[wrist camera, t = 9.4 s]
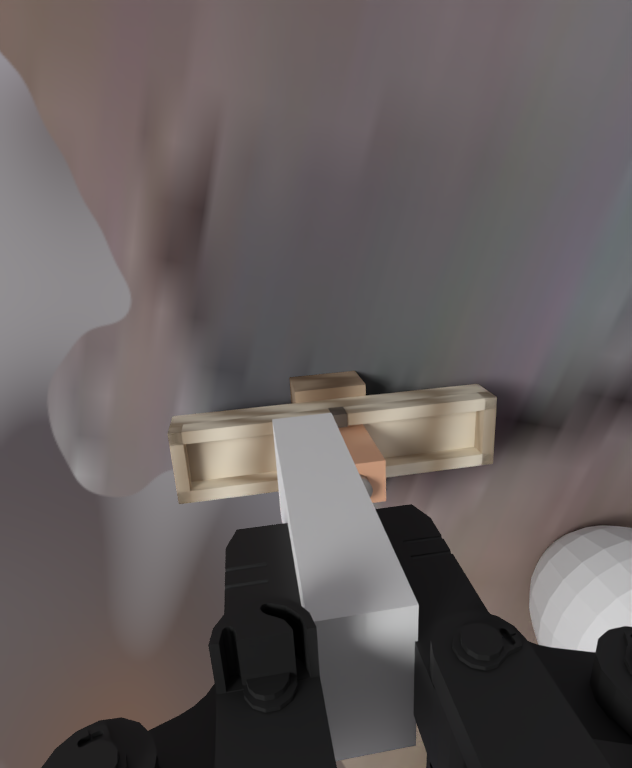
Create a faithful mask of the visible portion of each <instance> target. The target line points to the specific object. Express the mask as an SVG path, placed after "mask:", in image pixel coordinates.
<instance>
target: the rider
mask: <svg viewBox="0 0 632 768" xmlns="http://www.w3.org/2000/svg"><path fill="white" fill-rule="evenodd" d="M339 431H340V433H341V435H342V437H343V439H344V442H345V444H346V446H347V448H348V450H349V453H350V455H351V457H352V459H353V461H354V464H355V466H356V468H357V470H358V472H359V475H360V477H361V479H362V481H363V483H364V486H365V488H366V490H367V492H368V494H369V497H370V499H371V501H372V503H374V502H382V501H386V460H385V459H384V457H383V455H382V454H381V452H380V451H379V449H378V448H377V446H376V444H375V443H374V441H373V440H372V438H371V436H370V435H369V433H368V432H367V430H366V429H365V427H364V425H363V424H358V425H349V426H348V427H342V428H339Z"/></svg>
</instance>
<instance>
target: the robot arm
mask: <svg viewBox="0 0 632 768" xmlns="http://www.w3.org/2000/svg"><path fill="white" fill-rule="evenodd" d="M272 423H273V434H274V445H275V456H276V467H277V478H278V489H279V500H280V511H281V517H282V524H276V525H269V526H262V527H254V528H246V529H239V530H236V532H235V534H234V536H233V537H232V539H231V540H230V542H229V544H228V546H227V547H226V563H225V569H226V572H225V610H224V615H223V617H222V618H221V619H220V620H219V622H218V623H217V624H216V625H215V627H214V628H213V631H212V635H211V638H210V642H209V651H210V657H211V663H212V669H213V675H214V681H215V684H214V685H213V687H212V688H211V689H210V691H209V692H208V693H207V695H206V696H205V697H204V698H202V699H201V700H200V701H199V702H198V703H197V704H196V705H195V706H194V707H192V708H190V709H189V710H187V711H186V712H184V713H182V714H181V715H179V716H177V717H175V718H173V719H171V720H169V721H167V722H165V723H163V724H161V725H159V726H157V727H155V728H153V729H151V730H149V731H147V730H146V729H145V728H144V727H143V726H142V725H141V724H140V723H139V722H136V721H132V720H128V719H125V718H115V719H108V720H101V721H98V722H96V723H94V724H91V725H89V726H87V727H85V728H83V729H81V730H79V731H77V732H75V733H74V734H73V735H72V736H70V737H69V738H68V739H67V740H66V741H64V742H63V743H62V744H61V745H60V746H59V747H57V748H56V749H55V750H54V752H53V753H52V754H51V756H50V757H49V758H48V760H47V761H46V762H45V764H44V765H43V766H42V768H337V767H336V761H339V760H344V759H349V758H354V757H359V756H364V755H369V754H375V753H380V752H385V751H390V750H395V749H400V748H405V747H410V746H416V723H417V726H418V729H419V732H420V734H421V737H422V740H423V743H424V746H425V749H426V752H427V766H426V768H632V627H629V626H623V627H619V628H614V629H609V630H608V631H606V632H605V633H604V634H603V635H602V636H601V637H600V638H598V642H597V647H596V652H587V651H578V650H570V649H561V648H552V647H547V646H542V645H537V644H534V643H531V642H529V641H527V640H526V638H525V637H524V636H523V635H522V634H521V633H520V632H519V631H518V630H517V629H516V628H515V627H514V626H513V625H511V624H510V623H508V622H506V621H505V620H503V619H501V618H500V617H498V616H495V615H491V614H490V613H489V612H488V611H487V609H486V607H485V606H484V604H483V602H482V601H481V599H480V598H479V596H478V594H477V593H476V591H475V589H474V588H473V586H472V585H471V583H470V581H469V580H468V578H467V576H466V575H465V573H464V572H463V570H462V568H461V567H460V565H459V563H458V562H457V560H456V559H455V557H454V555H453V554H451V552H450V549H449V547H448V546H447V544H446V542H445V541H444V539H442V537H441V534H440V532H439V531H438V529H437V528H436V526H435V524H434V523H433V521H432V519H431V518H430V517H429V516H427V515H426V514H424V513H423V512H422V511H420V510H419V509H417V508H416V507H415V506H413V505H412V504H410V505H403V506H396V507H388V508H381V509H375V508H374V505H373V503H372V501H371V499H370V497H369V494H368V492H367V490H366V488H365V486H364V483H363V481H362V479H361V477H360V475H359V472H358V470H357V468H356V466H355V464H354V461H353V459H352V457H351V455H350V453H349V450H348V448H347V446H346V444H345V442H344V439H343V437H342V435H341V433H340V431H339V428H338V426H337V424H336V422H335V420H334V417H333V415H332V413H324V414H315V415H306V416H297V417H288V418H279V419H272Z"/></svg>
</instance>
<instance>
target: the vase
mask: <svg viewBox="0 0 632 768" xmlns="http://www.w3.org/2000/svg"><path fill="white" fill-rule="evenodd" d="M529 610H530V615H531V621H532V625H533V628H534V632H535V635H536V638H537V642H538V645H542V646H547V647H552V648H561V649H570V650H578V651H587V652H596V647H597V642H598V638H600V637H601V636H602V635H603V634H604V633H605V632H606V631H608V630H609V629H614V628H619V627H623V626H629V627H632V528H629V527H621V526H604V525H599V526H592V527H585V528H582V529H579V530H576V531H574V532H571V533H568V534H566V535H564V536H562V537H561V538H559V539H558V540H556V541H555V542H554V543H552V544H551V545H550V546H549V547H548V548H547V549H546V551H545V552H544V553H543V555H542V556H541V558H540V559H539V561H538V563H537V565H536V568H535V570H534V573H533V575H532V577H531V585H530V599H529Z"/></svg>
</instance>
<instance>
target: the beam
mask: <svg viewBox="0 0 632 768" xmlns="http://www.w3.org/2000/svg"><path fill="white" fill-rule="evenodd" d="M290 390H291V404H284V405H274V406H265V407H256V408H246V409H237V410H227V411H218V412H209V413H199V414H190V415H181V416H173V417H172V420H171V424H170V427H169V431H168V439H169V446H170V452H171V458H172V464H173V470H174V476H175V483H176V489H177V495H178V501H179V504H184V503H191V502H200V501H207V500H215V499H222V498H231V497H238V496H246V495H253V494H261V493H269V492H277V491H279V489H278V478H277V467H276V456H275V445H274V434H273V423H272V419H279V418H288V417H297V416H306V415H315V414H324V413H332V415H333V417H334V420H335V422H336V424H337V426H338V428H342V427H348V426H349V425H358V424H363V425H364V427H365V429H366V430H367V432H368V433H369V435H370V436H371V438H372V440H373V441H374V443H375V444H376V446H377V448H378V449H379V451H380V452H381V454H382V455H383V457H384V459H385V460H386V477H393V476H401V475H409V474H416V473H424V472H432V471H440V470H447V469H455V468H463V467H471V466H478V465H486V464H493V452H494V436H495V420H496V405H497V397H496V396H494V395H493V394H492V393H490V392H489V391H487V390H486V389H484V388H483V387H481V386H480V385H478V384H471V385H461V386H452V387H443V388H433V389H424V390H415V391H405V392H396V393H386V394H377V395H368V396H366V384H365V383H364V382H363V381H362V379H361V378H360V377H359V376H358V374H357V373H356V372H355V371H349V372H339V373H329V374H319V375H309V376H299V377H290Z"/></svg>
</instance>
